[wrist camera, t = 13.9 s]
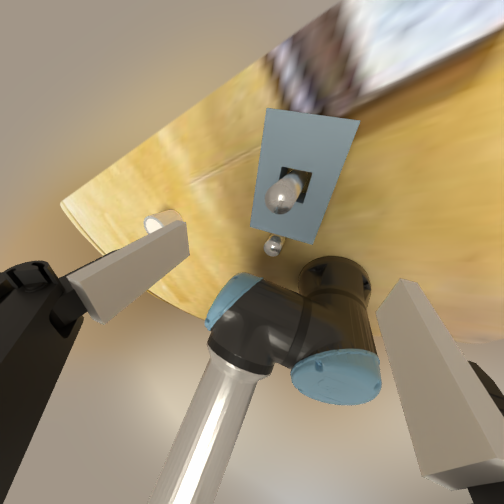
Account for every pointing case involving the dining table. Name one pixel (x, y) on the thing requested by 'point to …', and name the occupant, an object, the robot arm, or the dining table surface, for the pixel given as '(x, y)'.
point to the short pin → (274, 244)
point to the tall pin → (285, 192)
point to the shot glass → (160, 220)
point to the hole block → (300, 168)
